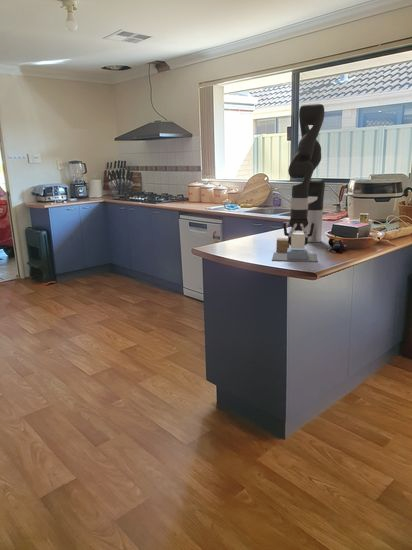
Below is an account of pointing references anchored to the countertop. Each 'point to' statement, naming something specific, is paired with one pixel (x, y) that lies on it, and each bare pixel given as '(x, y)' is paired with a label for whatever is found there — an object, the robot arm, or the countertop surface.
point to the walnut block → (282, 245)
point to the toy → (335, 245)
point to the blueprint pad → (284, 257)
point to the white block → (298, 240)
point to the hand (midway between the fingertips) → (297, 244)
